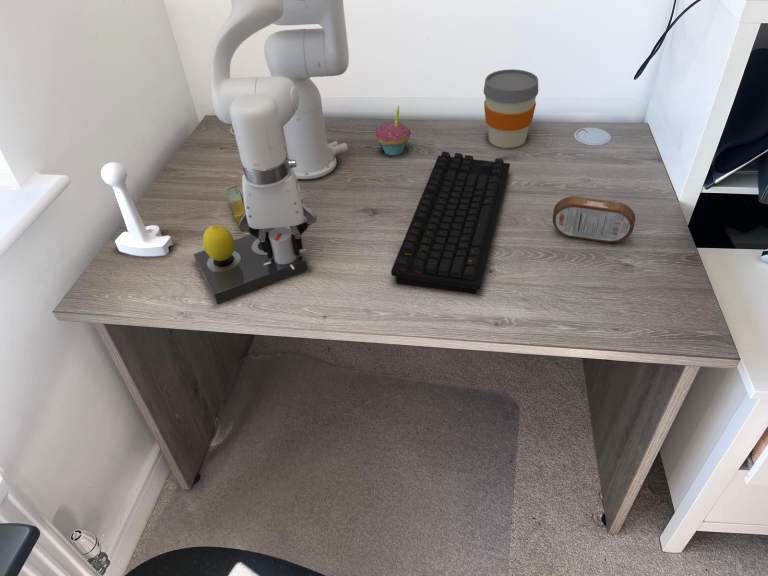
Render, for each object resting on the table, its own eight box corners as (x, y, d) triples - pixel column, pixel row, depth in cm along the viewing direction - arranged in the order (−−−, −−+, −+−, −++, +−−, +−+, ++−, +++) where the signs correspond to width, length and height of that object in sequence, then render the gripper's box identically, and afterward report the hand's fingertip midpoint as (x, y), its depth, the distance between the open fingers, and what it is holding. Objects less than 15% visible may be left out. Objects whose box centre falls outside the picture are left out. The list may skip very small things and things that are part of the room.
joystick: (115, 253, 127) (76, 168, 113) (134, 231, 132) (99, 147, 119) (163, 258, 124) (130, 171, 111) (181, 236, 130) (151, 150, 116)
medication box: (231, 203, 138) (225, 188, 135) (243, 199, 138) (237, 184, 136) (240, 231, 129) (233, 216, 126) (252, 227, 129) (246, 212, 127)
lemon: (231, 270, 116) (221, 236, 110) (204, 267, 117) (193, 233, 111) (242, 252, 120) (233, 218, 114) (216, 250, 121) (205, 216, 115)
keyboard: (480, 297, 110) (481, 276, 106) (391, 285, 113) (389, 264, 110) (509, 174, 140) (511, 154, 136) (438, 167, 144) (438, 148, 140)
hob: (287, 231, 128) (285, 221, 127) (316, 271, 118) (314, 260, 116) (196, 263, 122) (193, 253, 120) (219, 308, 112) (215, 297, 110)
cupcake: (416, 145, 152) (414, 99, 144) (402, 162, 147) (400, 115, 139) (384, 140, 155) (381, 94, 147) (370, 156, 150) (365, 110, 142)
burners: (277, 231, 124) (277, 231, 124) (289, 248, 120) (289, 247, 120) (203, 257, 119) (202, 257, 119) (212, 275, 115) (212, 275, 115)
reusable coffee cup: (503, 122, 158) (507, 64, 149) (543, 137, 151) (550, 78, 141) (470, 140, 152) (472, 81, 143) (511, 157, 145) (516, 96, 135)
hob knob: (278, 249, 120) (273, 224, 116) (299, 251, 119) (295, 226, 115) (270, 263, 117) (264, 238, 113) (292, 265, 116) (287, 240, 112)
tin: (630, 238, 119) (639, 202, 114) (629, 248, 117) (639, 211, 112) (551, 227, 124) (556, 191, 118) (549, 236, 121) (554, 200, 116)
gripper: (315, 153, 108) (328, 237, 120) (219, 162, 108) (242, 245, 120) (315, 175, 102) (328, 261, 114) (213, 184, 102) (237, 269, 114)
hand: (284, 252), depth 117 cm, fingers closed on hob knob, 4 cm apart
